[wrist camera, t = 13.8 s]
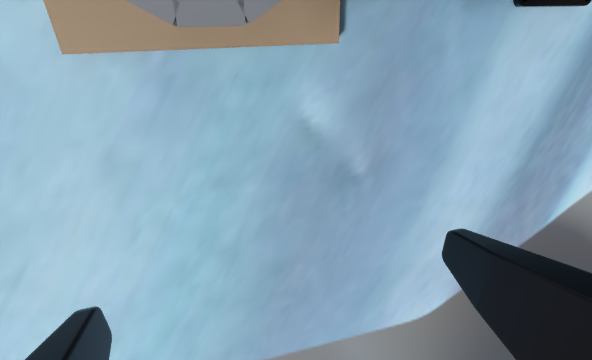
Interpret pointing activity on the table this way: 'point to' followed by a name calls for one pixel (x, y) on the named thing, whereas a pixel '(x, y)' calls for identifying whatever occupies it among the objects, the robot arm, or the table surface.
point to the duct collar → (190, 24)
